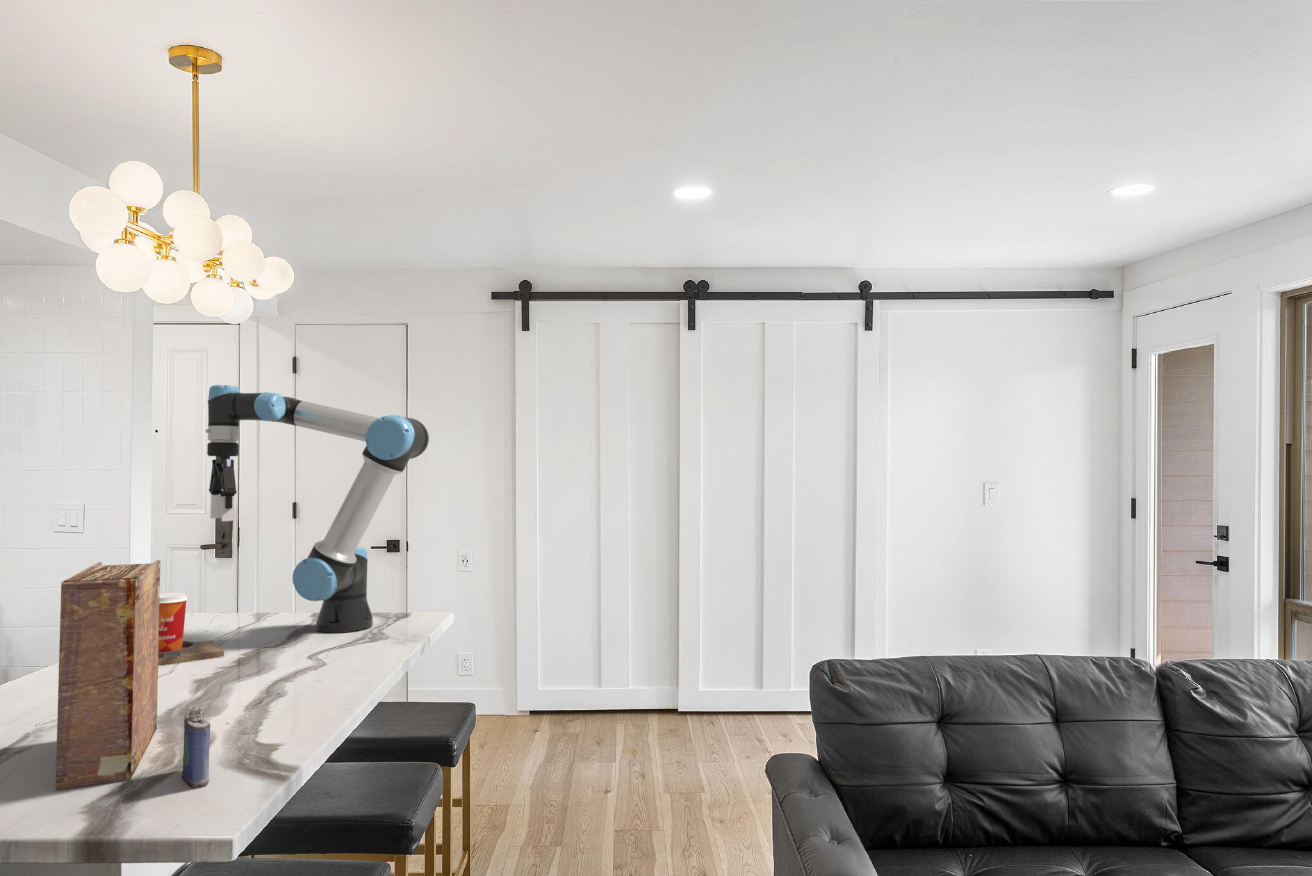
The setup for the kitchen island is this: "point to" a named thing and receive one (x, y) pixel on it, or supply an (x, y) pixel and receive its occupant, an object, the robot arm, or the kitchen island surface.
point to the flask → (196, 748)
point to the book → (107, 672)
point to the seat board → (191, 652)
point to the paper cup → (171, 621)
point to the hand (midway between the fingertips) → (221, 519)
